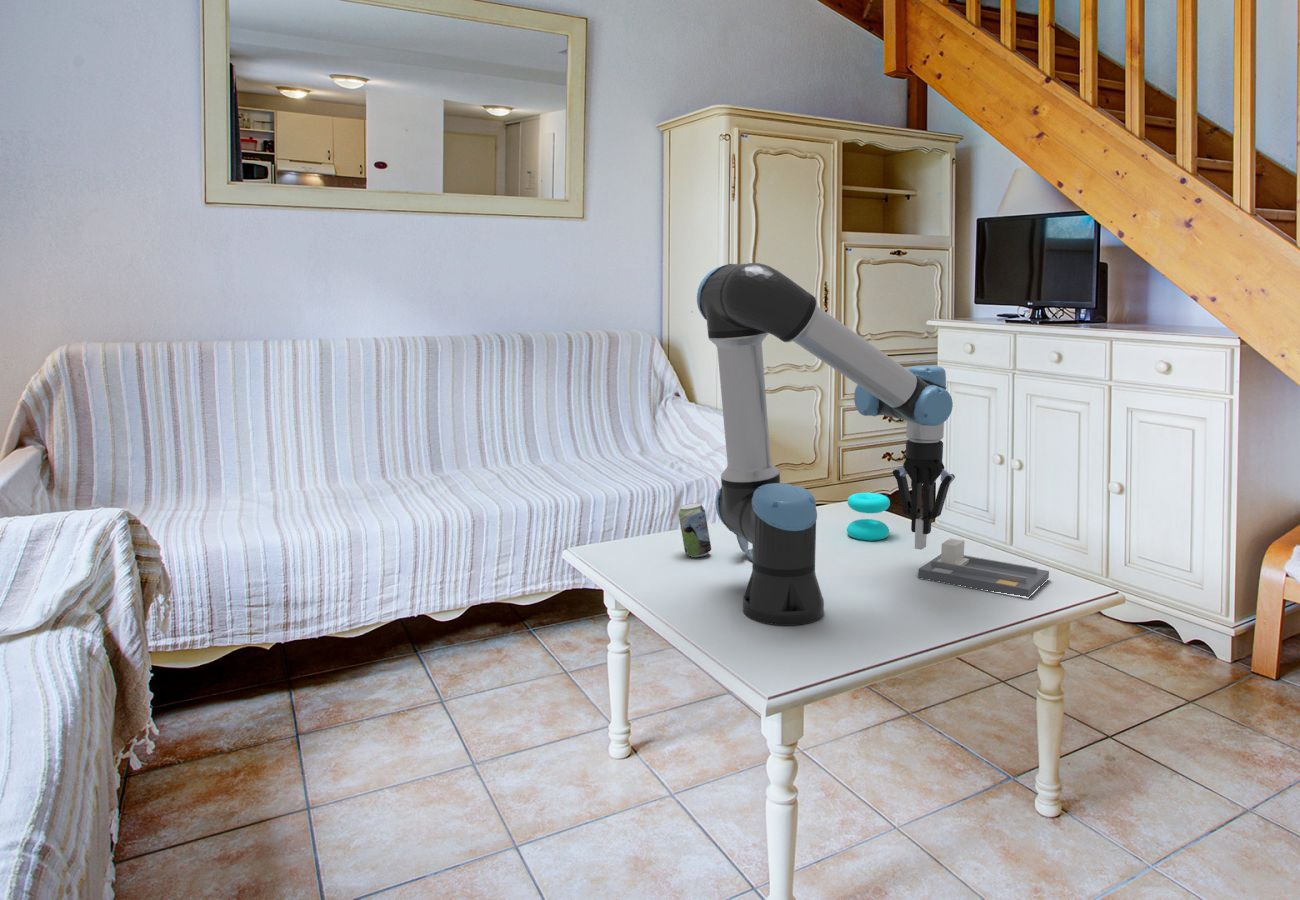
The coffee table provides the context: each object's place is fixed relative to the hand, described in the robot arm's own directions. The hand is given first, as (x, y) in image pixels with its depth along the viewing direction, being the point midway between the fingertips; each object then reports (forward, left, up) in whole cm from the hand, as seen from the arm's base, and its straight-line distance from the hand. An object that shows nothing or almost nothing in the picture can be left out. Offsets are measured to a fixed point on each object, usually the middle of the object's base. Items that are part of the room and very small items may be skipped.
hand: (920, 547), depth 193 cm
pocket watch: (-14, +30, -5) cm, 33 cm away
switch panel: (0, -13, -4) cm, 14 cm away
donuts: (+16, +20, -5) cm, 26 cm away
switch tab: (0, -7, -2) cm, 7 cm away
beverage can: (-21, +45, -5) cm, 49 cm away
